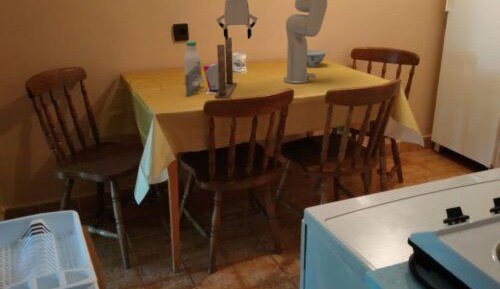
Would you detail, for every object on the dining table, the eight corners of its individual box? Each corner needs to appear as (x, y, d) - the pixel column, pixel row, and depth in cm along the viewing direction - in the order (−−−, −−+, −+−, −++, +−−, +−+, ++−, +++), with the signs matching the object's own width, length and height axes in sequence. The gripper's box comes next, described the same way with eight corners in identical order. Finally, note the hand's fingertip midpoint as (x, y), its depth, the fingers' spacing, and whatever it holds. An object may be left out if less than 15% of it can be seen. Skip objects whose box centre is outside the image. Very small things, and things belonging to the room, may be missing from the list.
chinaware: (294, 64, 260) (295, 50, 258) (319, 62, 264) (319, 49, 261) (303, 69, 247) (304, 55, 244) (329, 67, 250) (329, 53, 247)
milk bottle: (194, 85, 215) (192, 43, 208) (182, 83, 219) (179, 42, 211) (204, 82, 221) (202, 41, 214) (192, 80, 225) (189, 40, 218)
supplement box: (226, 86, 202) (220, 62, 198) (217, 91, 198) (211, 65, 194) (218, 87, 206) (211, 62, 202) (209, 91, 202) (202, 66, 198)
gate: (236, 84, 213) (235, 37, 205) (228, 98, 190) (227, 46, 182) (224, 84, 213) (222, 37, 205) (214, 98, 191) (212, 45, 183)
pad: (230, 90, 207) (230, 88, 206) (226, 95, 197) (226, 94, 197) (208, 89, 208) (208, 87, 207) (204, 95, 199) (204, 93, 198)
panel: (205, 86, 213) (204, 65, 209) (195, 98, 194) (194, 75, 191) (196, 86, 213) (195, 65, 209) (186, 98, 195) (185, 75, 191)
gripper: (257, -5, 187) (259, 36, 194) (217, -4, 190) (219, 37, 196) (255, -4, 180) (256, 39, 187) (213, -3, 183) (216, 40, 189)
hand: (237, 38), depth 191 cm, fingers open, 9 cm apart
